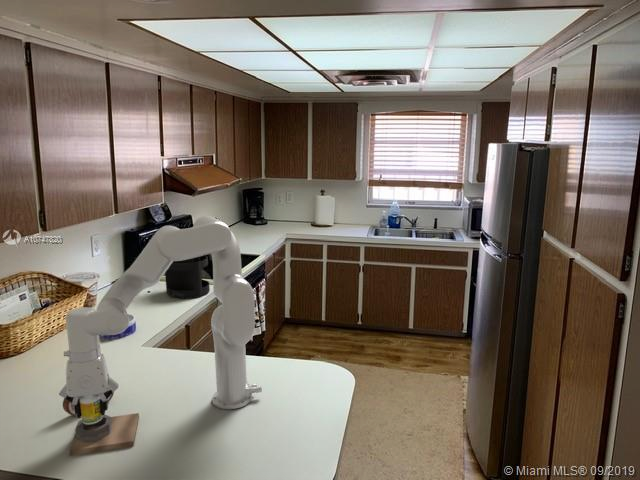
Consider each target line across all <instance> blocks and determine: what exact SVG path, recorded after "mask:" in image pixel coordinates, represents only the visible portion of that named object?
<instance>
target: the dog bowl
mask: <svg viewBox="0 0 640 480" xmlns="http://www.w3.org/2000/svg"><path fill="white" fill-rule="evenodd" d="M127 314H128V316H129V325H128V327H127V329H126V330H125V331H123V332H122V333H120V334H116V335H99V338H101V339H103V338H104V340H117V338H118V339H123V338H127V337H129V336H131V335H133V334H134V333H135V332H137V324H136V321H137V320H136V316H135V315H134V314H131V313H127ZM126 336H127V337H126ZM122 337H123V338H122Z"/></svg>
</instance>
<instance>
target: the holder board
mask: <svg viewBox="0 0 640 480" xmlns="http://www.w3.org/2000/svg"><path fill="white" fill-rule="evenodd" d="M139 420H140V413H138V412H137V413H129V414H123V415H117V416H109V415H107V414H106V413H105V414H104V415H103V418H102V419H101V420H100V421H99V422H97V423H95V424H90V425H87V424H84V423H83V422H82V419H81V420H79V421H77V424H76V426H75V435H74V437H73V439H72V443H70V447H69V450H68V451H69V452H68V454H69V457H70V456H77V455H83V454H89V453H90V454H92V453H96V452H101V451H103V452H104V451H108V450H115V449H122V448H128V447H135V440H136V436H137V431H138V426H139Z"/></svg>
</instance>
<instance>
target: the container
mask: <svg viewBox="0 0 640 480" xmlns="http://www.w3.org/2000/svg"><path fill="white" fill-rule="evenodd" d="M208 265H209V259H208V256H207V255H203V256H199V257H196V258H191V259H187V260H182V261H173V262H172V264H171V265H170V267H169V268H168V269H167V271H166V272H165V273H164V276H165V288H166V289H165V290H166V294H167V295H168V296H169V297H172V298H175V299H194V298H198V297H201V296H204V295H206V294H208V293H209V292H210V291H211V290H210V289H211V288H210V287H211V286H210V281H208V280H206V279H203V273H202V272H203V271H202V269H203V268H206V267H207V266H208Z"/></svg>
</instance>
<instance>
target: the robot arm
mask: <svg viewBox="0 0 640 480" xmlns="http://www.w3.org/2000/svg"><path fill="white" fill-rule="evenodd" d="M192 225H193V226H192V227H188V228H187V227H186V228H179V227H177V226H173V225H164V226H162V227H160V228H159V229H158V230H157V231H156V232H155V233H154V235H153V236H152V237H151V239H150V240H149V241H148V242H147V244H146V246H145V247H144V248H143V250H142V251H141V253H139V255H138V256H137V258H136V259H135V260H134V261H133V263H132V264H131V265H130V267H128V268H127V269H126V270H125V271H124V272H123V273H122V274H121V275H120V276H119V277H118V278H117V279H116V280H115V281H114V282H113V283H112V285H111V286H110V288H108V290H107V291H106V292H105V294H104V296H103V297H102V298H101V299H100V301H99V303H98V305H97V306H96V309H94V307H86V306H85V307H78V308H74V309H71V310H69V311H68V312H67V313H66V314H65V325H66V334H67V341H68V342H67V343H68V350H65V351H63V357H67V358H68V360H67V361H66V367H65V368H66V371H65V375H66V377H65V380H66V384H65V385H63V387H62V388H61V389H60V391H59V393H58V395H59V396H60V397H62V398H63V399H64V398H66V399H67V400H68V401H70V402H71V403H72V405H74V409H75V414H77V416H76V417H77V419H82V417H81V408H80V399H79V397H82V396H90V395H98V394H99V396H100V398H101V402H100V407H101V415H104V414H105V415H106V411H108V408H109V404H108V403H107V399H108V398H109V396H110V395H111V394H112V393H113V392H114V393H115V391H116V390H118V388H119V386H120V384H119V383H118V382H117V381H115V380H114V379H113V378H111V377H110V374H109V369H108V365H107V361H106V358H105V355H104V353H102V351H101V350H102V349H101V341H100V336H99V335H116V334H120V333H122V332H123V331H125V330H126V329H127V327H128V325H129V316H128V314H129V313H128V311H127V309H128V308H129V306H130V305H131V303H132V302H133V301H134V299H135V298H136V297H137V296H138V295H139V294H140V293H141V292H143V291H144V290H145V289H147V288H151V287H153V286H156V285H157V284H158V283H159V281H160V280H161V279H162V277H163V276H165V272H166V271H167V269H168V268H169V267H170V265H171V264H172V262H173V261H182V260H187V259H191V258H196V257H199V256H203V255H206V256H207V255H211V260H212V277H213V278H212V282H213V283H212V284H213V285H212V288H213V295H214V296H215V298H216V299H217V300H218V301H219V302H220V303H221V304H220V305H218V306H217V307H215V309H214V310H213V313H212V314H211V319H210V320H211V323H210V326H211V331H212V336H213V337H212V338H213V346H214V360H215V361H214V362H215V365H214V367H215V381H216V383H215V384H216V392H214V393H213V395H212V404H213V405H214V406H215V407H216V408H218V409H221V410H236V409H240V408H242V407H245V406H247V405H248V404H249V403H250V402H251V401H252V400H253V394H255V393H262V392H263V391H262V388H263V387H262V385H259V386H258V385H257V383H253V384H252V383H251V384H250V383H248V380H247V379H248V378H247V357H246V356H247V355H246V344H247V343H248V342H249V341H251V339H252V337H253V336H254V333H255V325H256V324H255V323H256V322H255V321H256V319H255V316H256V315H255V309H256V308H255V294H254V289H253V287H252V285H251V283H249V281H247V280H246V279H245V278H244V277H243V272H242V271H243V270H242V257H241V256H242V255H241V249H240V245H239V242H238V240H237V238H236V236H235V234H234V233H233V232H232V230H231V229H230V227H229V226H228V225H227V224H226V223H225V222H224V221H222V220H219V219H217V218H215V217H213V216H211V215H203V216H200V217H198V218H197V219H196V220H194V223H193V224H192ZM108 385H110V386H111V388H110V389H109V390H108ZM107 390H108V391H107Z"/></svg>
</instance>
